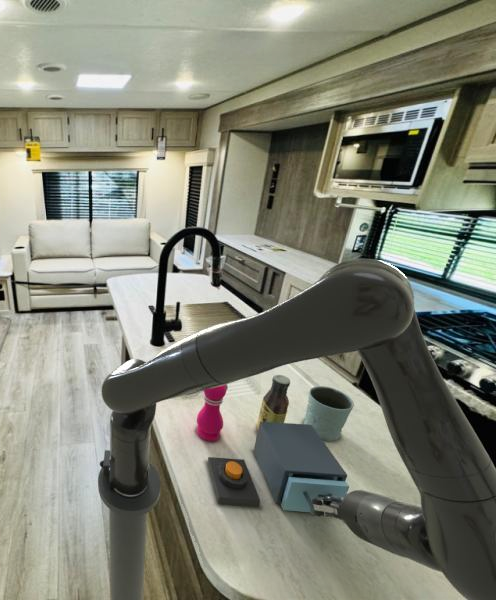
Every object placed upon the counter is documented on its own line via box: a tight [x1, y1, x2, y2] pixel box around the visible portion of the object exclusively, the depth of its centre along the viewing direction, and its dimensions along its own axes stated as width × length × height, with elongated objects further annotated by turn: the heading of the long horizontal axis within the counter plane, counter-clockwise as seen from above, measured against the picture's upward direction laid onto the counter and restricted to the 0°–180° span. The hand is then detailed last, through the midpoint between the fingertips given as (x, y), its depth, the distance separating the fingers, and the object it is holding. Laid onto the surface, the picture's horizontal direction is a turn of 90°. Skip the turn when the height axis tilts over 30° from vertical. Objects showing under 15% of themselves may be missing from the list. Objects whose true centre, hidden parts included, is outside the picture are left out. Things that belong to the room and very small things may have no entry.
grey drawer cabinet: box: [252, 422, 348, 505], centre depth 75 cm, size 15×13×11 cm
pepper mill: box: [196, 385, 227, 442], centre depth 88 cm, size 7×7×20 cm
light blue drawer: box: [280, 473, 350, 518], centre depth 71 cm, size 18×11×9 cm, turn 174°
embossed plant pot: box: [303, 385, 355, 442], centre depth 89 cm, size 10×10×12 cm
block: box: [206, 456, 261, 508], centre depth 76 cm, size 9×11×4 cm
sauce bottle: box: [256, 374, 291, 433], centre depth 87 cm, size 6×6×20 cm
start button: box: [225, 461, 242, 480], centre depth 75 cm, size 4×4×2 cm
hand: (322, 500), depth 65 cm, fingers closed
